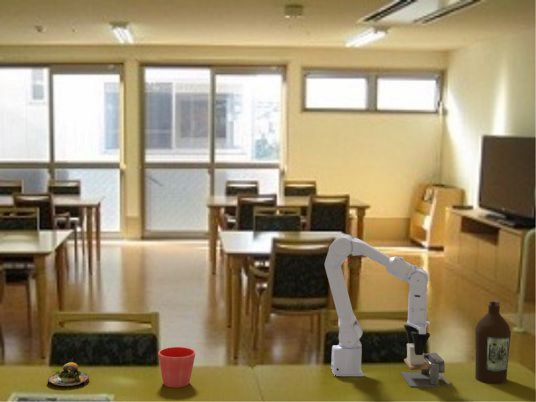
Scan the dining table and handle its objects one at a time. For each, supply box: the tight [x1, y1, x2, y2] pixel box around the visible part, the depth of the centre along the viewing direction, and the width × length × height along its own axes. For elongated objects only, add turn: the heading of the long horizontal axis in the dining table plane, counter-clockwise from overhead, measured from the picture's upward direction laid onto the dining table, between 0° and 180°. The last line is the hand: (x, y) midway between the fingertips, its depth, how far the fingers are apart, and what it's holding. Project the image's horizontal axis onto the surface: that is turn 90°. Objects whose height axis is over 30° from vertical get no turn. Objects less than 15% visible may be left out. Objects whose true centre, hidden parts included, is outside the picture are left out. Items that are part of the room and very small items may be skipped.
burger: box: [47, 357, 90, 387], centre depth 208 cm, size 12×12×8 cm
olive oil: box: [474, 299, 512, 385], centre depth 219 cm, size 11×11×25 cm
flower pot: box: [158, 346, 196, 388], centre depth 209 cm, size 11×11×10 cm
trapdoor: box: [403, 352, 446, 374], centre depth 217 cm, size 10×9×4 cm
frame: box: [420, 353, 451, 388], centre depth 217 cm, size 6×12×7 cm, turn 2°
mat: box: [400, 371, 440, 388], centre depth 217 cm, size 9×13×1 cm
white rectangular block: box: [406, 343, 425, 365], centre depth 216 cm, size 4×4×6 cm
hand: (415, 351), depth 216 cm, fingers open, 7 cm apart
